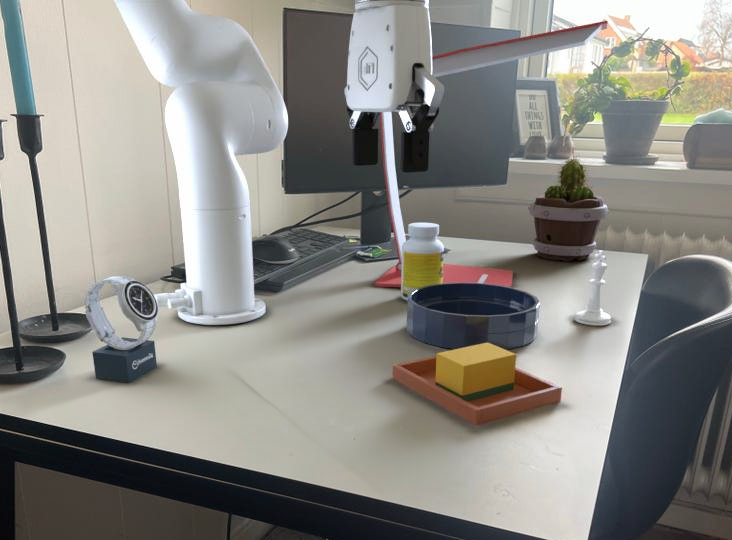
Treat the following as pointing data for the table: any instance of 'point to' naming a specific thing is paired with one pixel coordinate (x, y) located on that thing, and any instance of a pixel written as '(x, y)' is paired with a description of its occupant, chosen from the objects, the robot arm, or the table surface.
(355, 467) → the table surface
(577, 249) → the flowerpot
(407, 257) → the pill bottle
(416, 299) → the bowl
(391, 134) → the desk lamp
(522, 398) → the sponge dish
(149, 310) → the watch
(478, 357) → the sponge
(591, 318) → the chess piece
